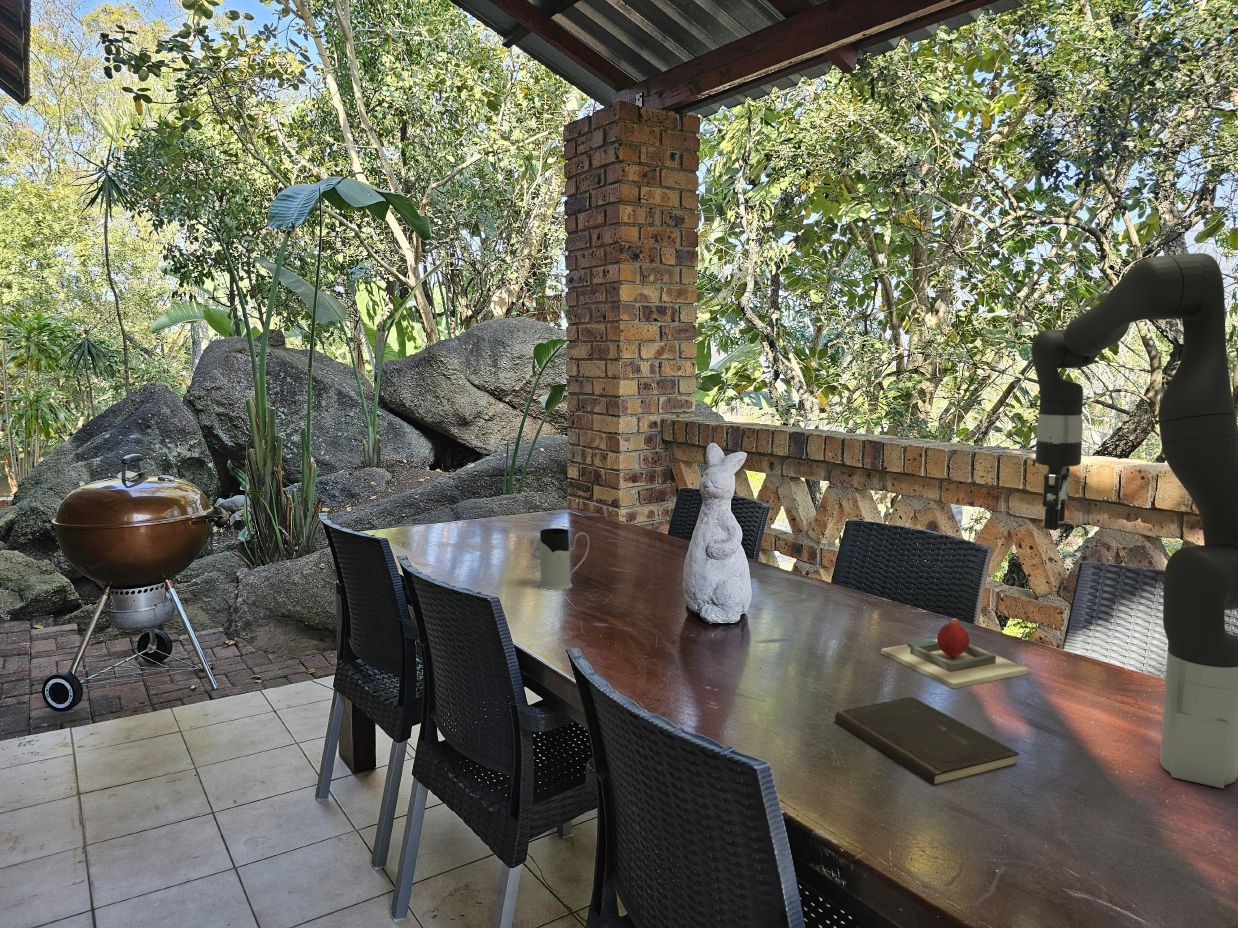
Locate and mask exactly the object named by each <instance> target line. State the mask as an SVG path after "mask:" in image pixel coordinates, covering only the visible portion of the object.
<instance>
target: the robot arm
mask: <svg viewBox="0 0 1238 928" xmlns="http://www.w3.org/2000/svg"><path fill="white" fill-rule="evenodd" d="M1225 303H1226V299H1225V287H1224V279H1223V274H1222V270H1221V268H1220V266H1219V263H1218V261H1217V260H1216V259H1215V258H1214V257H1213V256H1212V255H1210V254H1209V253H1202V252H1201V253H1200V252H1198V253H1196V252H1195V253H1194V252H1193V253H1180V254H1178V253H1177V254H1167V255H1156V256H1151V257H1147V258H1145V259H1143V260H1141V261H1139V262H1137V263H1136V264H1135V265H1134V266H1133V267H1131V268H1130V269H1129V270H1128V271H1127V272H1125V274H1124V276H1123V277H1122V278H1121V279H1120V280H1119V281H1118V282H1117V283H1116V284H1115V285H1114V286H1113V288H1111V289H1110V290H1109V291H1108V293H1107V294H1106V295H1105V296H1104V297H1103V298H1102V299H1101V300H1100V301H1099V302H1098V303H1097V304H1095V305H1094V306H1093V307H1092V308H1090V309H1088V310H1087V311H1085V312H1084V313H1081V314H1080V315H1078V317H1077V316H1076V318H1074V319H1073V320H1072V321H1071V322H1070V323H1069V324H1068V325H1067V326H1066V328H1065V329H1045V330H1042V331H1040V332H1038V333H1037V334H1036V336H1035V338H1034V339H1033V341H1032V344H1031V358H1032V361H1033V365H1034V370H1035V374H1036V378H1037V382H1038V388H1039V407H1038V408H1039V409H1038V413H1039V414H1038V419H1037V420H1038V421H1037V424H1036V438H1035V439H1036V440H1035V441H1036V442H1035V443H1036V444H1035V463H1036V464H1038V465H1042V466H1047V467H1048V471H1047V472H1046V473H1044V475H1043V491H1042V494H1043V498H1042V499H1043V500H1042V503H1041V505H1042V507H1043V508H1044V529H1045V530H1051V531H1056V530H1058V529H1059V525H1060V524H1059V523H1063V522H1064V521H1065V517H1066V515H1065V514H1066V502H1067V501H1068V497H1069V495H1070V493H1069V492H1070V483H1071V482H1070V481H1071V474H1070V470H1071V469H1070V468H1071V467H1078V466H1080V465H1081V464H1082V451H1083V431H1084V430H1083V429H1084V428H1083V427H1084V426H1083V405H1084V404H1083V403H1084V387H1083V385H1082V384H1081V383H1078V382H1076V381H1072V380H1071V381H1070V380H1065V379H1063V378H1062V377H1061V375H1060V373H1059V370H1058V369H1081V368H1084V367H1089V366H1091V365H1092V364H1093V363H1094V362H1095V361H1096V359H1097V357H1098V356H1099V355H1100V354H1101V352H1102V351H1104V350H1107V348H1110V347H1112V346H1113V345H1115V344H1117V343H1118V342H1120V341H1121V340H1122V338H1124V337H1125V335H1126V334H1127V332H1128V330H1129V328H1130V326H1131V323H1135V322H1139V321H1144V320H1154V321H1162V320H1177V319H1180V320H1181V323H1182V328H1183V348H1182V355H1181V358H1180V361H1179V364H1178V366H1177V368H1176V369H1175V372H1174V374H1173V376H1172V377H1171V379H1170V381H1169V383H1168V385H1167V387H1166V389H1165V391H1164V393H1163V395H1162V398H1161V400H1160V402H1159V406H1158V411H1157V417H1158V418H1157V419H1158V427H1159V434H1160V441H1161V448H1162V453H1163V457H1164V459H1165V462H1166V463H1167V465H1168V467H1169V468H1170V470H1171V472H1172V473H1173V474H1174V476H1175V477H1176V479H1177V480H1178V481H1179V482H1180V484H1181V485H1182V487H1183V488H1184V490H1185V491H1186V493H1187V494H1188V495H1189V496H1190V498H1191V499H1192V501H1193V503H1194V506H1195V507H1196V510H1197V512H1198V515H1199V519H1200V523H1201V527H1202V535H1203V544H1201V545H1192V546H1191V545H1190V546H1185V547H1181V548H1179V549H1177V550H1176V551H1174V552H1173V553H1172V554H1171V555H1170V557H1169V558H1168V560H1167V562H1166V565H1165V567H1164V573H1163V574H1164V575H1163V584H1162V585H1163V586H1162V588H1163V589H1162V590H1163V595H1162V596H1163V597H1162V600H1163V602H1162V605H1163V606H1162V622H1163V624H1162V625H1163V629H1164V633H1165V635H1166V639H1167V652H1166V653H1167V655H1166V669H1165V682H1164V696H1163V698H1164V699H1163V711H1162V726H1161V741H1160V756H1159V764H1160V766H1161V767H1162V768H1163V770H1165V771H1166V772H1168V773H1170V776H1171V778H1174V779H1178V780H1179V779H1180V780H1184V781H1188V782H1193V783H1197V784H1201V785H1206V786H1211V787H1214V788H1220V789H1224V788H1225V786H1227V785H1230V784H1231V785H1232V784H1233V783H1234V782H1236V780H1237V775H1238V636H1237V635H1235V634H1233V633H1229V632H1227V631H1226V624H1225V623H1226V618H1225V617H1226V615H1225V613H1226V611H1230V610H1238V421H1237V415H1236V408H1235V404H1234V399H1233V392H1232V388H1231V387H1232V386H1231V378H1230V370H1229V364H1228V363H1229V362H1228V352H1227V340H1226V339H1227V338H1226V304H1225ZM1050 499H1051V500H1050Z"/></svg>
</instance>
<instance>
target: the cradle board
mask: <svg viewBox="0 0 1238 928" xmlns="http://www.w3.org/2000/svg"><path fill="white" fill-rule="evenodd" d="M880 654H881V655H884V656H885V657H887V658H889V659H891V660H893V661H895V662H898V663H900V664H902V665H903V666H906V667H907V668H910V669H912V670H914V671H916V672H918V673H920V674H922V675H925V676H927V677H929V678H930V679H933V680H934V681H937V682H938V683H941V684H943V685H945V686H947V687H949V688H950V689H958V688H965V687H968V686H974V685H978V684H983V683H987V682H988V683H989V682H993V681H998V680H1003V679H1007V678H1013V677H1018V676H1023V675H1028V674H1029V668H1028V667H1025V666H1024V665H1023V666H1022V665H1021V664H1018V663H1016V662H1013V661H1010V660H1009V659H1006V658H1004V657H1001V656H999V655H996V654H993V653H991V652H988V651H987V650H984V649H982V648H979V647H977V646H974V645H972V644H970V643H969V646H968V648H967V650H966V651H965V652H964V653H962V654H960V655H959V656H957V657H956V658H951V657H949V656H948V655H946V654H945V653H944V652H943V651H942V650H941V649H940V647H939V645H938V643H937V638H936V639H932V638H928V639H923V640H916V641H911V642H907V643H906V644H901V645H896V646H891V647H885V648H884V647H883V648H881V649H880Z"/></svg>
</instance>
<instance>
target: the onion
mask: <svg viewBox="0 0 1238 928" xmlns="http://www.w3.org/2000/svg"><path fill="white" fill-rule="evenodd" d="M936 639H937V643H938V645H939V647H940V649H941V650H942V651H943V652H944V653H945V654H946V655H948V656H949V657H951V658H956V657H957V656H959V655H960V654H962V653H964V652H965V651H966V650H967V648H968V646H969V644H970V636H969V634H968V631H967V630H966V629H965V628H964V627H963V626H962V625H961V624H959V619H958V618H952V619H951V620H950V622H948V623H945V624H944V625H943V626H942V627H941V628H940V629H939V631H938V633H937V636H936Z"/></svg>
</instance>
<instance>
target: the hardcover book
mask: <svg viewBox="0 0 1238 928" xmlns="http://www.w3.org/2000/svg"><path fill="white" fill-rule="evenodd" d="M834 722H835V723H836V724H837V725H839V726H840V727H842V728H844V729H845V730H846V731H848V732H849V733H852V734H853V735H854V736H856V737H857V738H859V739H861V740H862V741H864V742H865V743H867V744H868V745H869V746H871V747H873V748H875V749H876V750H877V751H879V752H880V753H882V754H884V755H885V756H887V757H888V758H890V759H892V760H894V761H895V762H896V763H898V764H900V765H901V766H902V767H904V768H906V769H907V770H909V771H910V772H912V773H913V774H915V775H917V776H918V777H920V778H921V779H923V780H924V781H926V782H928V783H929V784H931V786H935V785H937V784H942V783H945V782H948V781H954V780H956V779H960V778H964V777H969V776H972V775H977V774H980V773H984V772H988V771H991V770H996V769H999V768H1005V767H1007V766H1012V765H1016V757H1017V756H1020V753H1019V752H1018V751H1016V750H1014V749H1012V748H1010V747H1008V746H1007V745H1005V744H1002V743H1001V742H999V741H998V740H995V739H994V738H991V737H990V736H987V735H985V734H984V733H982V732H980V731H978V730H977V729H975V728H972V727H970V726H969V725H967V724H965V723H963V722H961V721H959V720H957V719H955V718H954V717H952V716H949V715H947V714H946V713H944V712H942V711H940V710H938V709H936V708H935V707H933V706H931V705H928V704H927V703H925V702H923V701H921V700H919V699H917V698H915V697H914V696H909V697H904V698H899V699H892V700H889V701H883V702H878V703H873V704H868V705H862V706H860V707H855V708H854V707H853V708H848V709H844V710H839V711H837V712H836V713H835V716H834Z"/></svg>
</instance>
